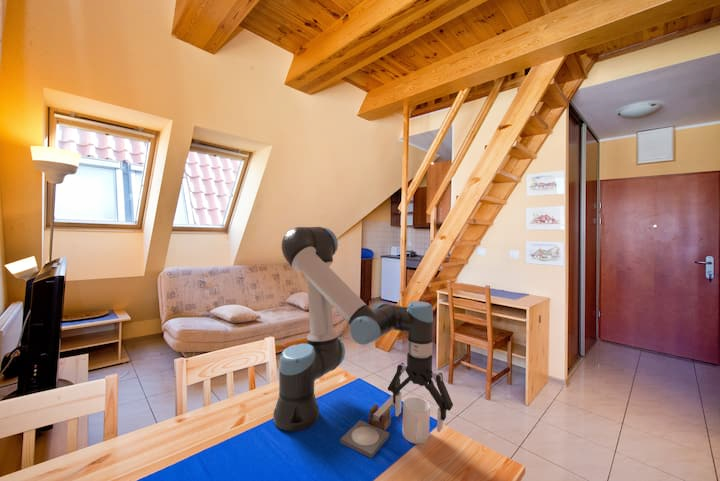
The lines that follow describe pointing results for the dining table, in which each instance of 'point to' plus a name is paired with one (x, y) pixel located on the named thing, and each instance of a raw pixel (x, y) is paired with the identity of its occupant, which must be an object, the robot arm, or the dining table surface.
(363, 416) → the dining table surface
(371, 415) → the mount
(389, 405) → the crank handle
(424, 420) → the mug
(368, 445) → the dock pad
